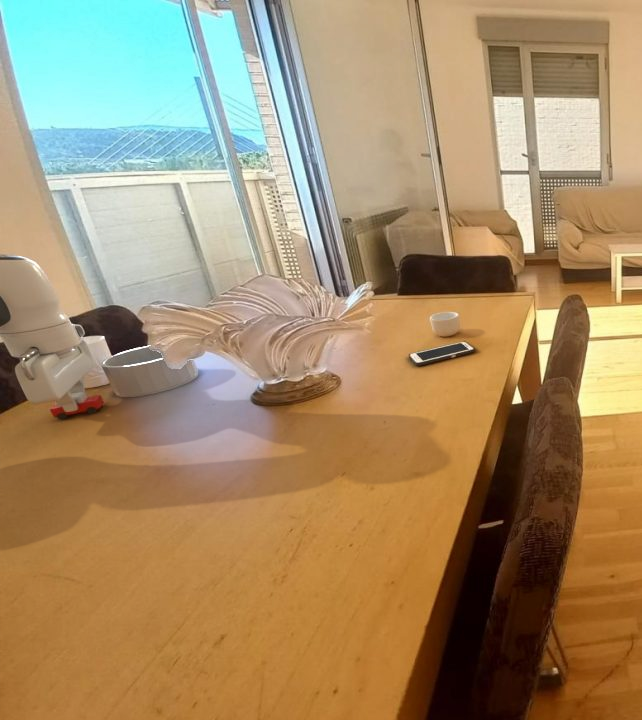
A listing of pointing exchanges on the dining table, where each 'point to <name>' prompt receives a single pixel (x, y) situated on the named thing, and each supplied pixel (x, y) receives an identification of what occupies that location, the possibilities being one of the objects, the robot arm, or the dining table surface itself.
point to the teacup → (445, 323)
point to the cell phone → (441, 353)
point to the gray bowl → (144, 373)
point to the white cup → (96, 362)
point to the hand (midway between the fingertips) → (77, 405)
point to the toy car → (85, 404)
